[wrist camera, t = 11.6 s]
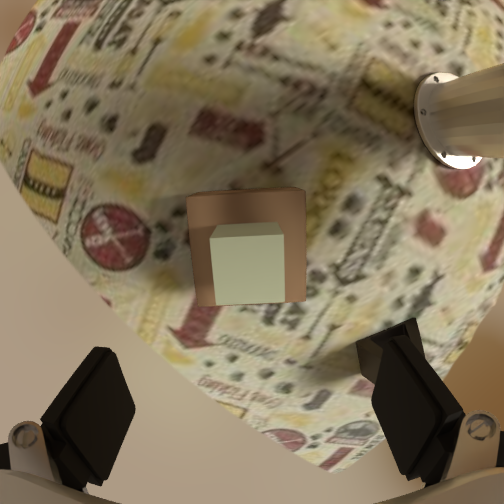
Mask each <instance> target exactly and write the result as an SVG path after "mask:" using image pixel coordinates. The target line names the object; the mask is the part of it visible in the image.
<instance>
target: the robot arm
mask: <svg viewBox="0 0 504 504" xmlns="http://www.w3.org/2000/svg"><path fill="white" fill-rule="evenodd" d="M414 115H415V120H416V124H417V127H418V130H419V133H420V136H421V138H422V140H423V142H424V144H425V145H426V147H427V148H428V150H429V151H430V152H431V154H432V155H433V156H434V157H435V158H436V159H437V160H438V161H440V162H441V163H442V164H444V165H446V166H448V167H450V168H454V169H468V168H471V167H473V166H475V165H476V164H477V163H478V162H479V161H480V160H481V158H482V157H488V158H504V63H503V64H500V65H496V66H493V67H490V68H487V69H483V70H480V71H477V72H474V73H471V74H468V75H465V76H462V77H457V76H455V75H453V74H450V73H446V72H437V73H434V74H431V75H429V76H427V77H426V78H424V79H423V80H422V81H421V82H420V84H419V86H418V88H417V90H416V94H415V99H414ZM371 401H372V407H373V409H374V411H375V414H376V416H377V418H378V420H379V423H380V425H381V427H382V430H383V432H384V435H385V437H386V439H387V441H388V444H389V447H390V449H391V451H392V454H393V456H394V459H395V461H396V463H397V466H398V469H399V471H400V473H401V474H402V475H406V478H407V480H408V481H410V480H412V479H415V478H418V477H421V480H422V482H423V484H422V486H421V489H420V490H418V491H415V492H412V493H409V494H406V495H403V496H400V497H396V498H393V499H390V500H386V501H382V502H379V503H375V504H504V431H500V424H499V421H498V419H497V418H496V417H495V416H494V415H493V414H491V413H489V412H486V411H483V410H477V411H472V412H470V413H468V414H467V415H465V413H464V412H463V409H462V407H461V406H460V405H459V403H458V402H457V400H456V399H455V398H454V396H453V395H452V393H451V392H450V391H449V389H448V388H447V387H446V385H445V384H444V383H443V381H442V380H441V379H440V377H439V376H438V375H437V373H436V372H435V371H434V369H433V368H432V367H431V366H430V364H429V363H428V362H427V360H426V359H425V358H424V357H423V355H422V354H421V353H420V352H419V350H418V349H417V348H416V347H415V345H414V344H413V343H412V342H411V340H410V339H409V338H408V337H407V336H406V335H402V336H396V337H391V338H390V339H389V340H388V342H386V343H385V344H384V348H383V352H382V357H381V362H380V366H379V370H378V375H377V379H376V383H375V387H374V391H373V394H372V399H371ZM134 414H135V404H134V402H133V399H132V396H131V394H130V391H129V389H128V386H127V384H126V381H125V378H124V376H123V373H122V370H121V367H120V364H119V362H118V359H117V356H116V354H115V353H114V352H112V350H111V349H110V348H107V347H94V348H93V349H92V350H91V352H90V353H89V354H88V355H87V357H86V358H85V359H84V361H83V362H82V363H81V365H80V366H79V367H78V368H77V370H76V371H75V372H74V374H73V375H72V376H71V378H70V379H69V380H68V381H67V383H66V384H65V385H64V387H63V388H62V390H61V391H60V392H59V394H58V395H57V396H56V398H55V399H54V400H53V402H52V403H51V405H50V406H49V407H48V409H47V410H46V412H45V413H44V414H43V416H42V417H41V419H40V420H41V421H42V425H41V426H39V425H38V424H37V423H35V422H33V421H24V422H21V423H18V424H17V425H15V426H14V427H13V428H12V430H11V431H10V433H9V437H8V443H4V444H0V504H120V503H116V502H112V501H109V500H106V499H102V498H99V497H96V496H92V495H89V493H88V491H87V488H86V484H87V482H89V483H91V484H95V485H98V486H102V484H103V481H104V480H107V479H108V477H109V475H110V472H111V470H112V467H113V465H114V462H115V460H116V458H117V455H118V453H119V450H120V447H121V445H122V443H123V440H124V438H125V435H126V433H127V431H128V428H129V426H130V423H131V421H132V419H133V417H134Z"/></svg>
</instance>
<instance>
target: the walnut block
mask: <svg viewBox="0 0 504 504" xmlns="http://www.w3.org/2000/svg"><path fill="white" fill-rule="evenodd" d="M186 207H187V218H188V229H189V239H190V248H191V257H192V266H193V274H194V282H195V290H196V298H197V305H198V306H230V305H216V299H215V290H214V280H213V270H212V260H211V249H210V237H211V235H212V233H213V232H214V230H215V229H216V227H217V225H226V224H244V223H263V222H278V224H279V226H280V228H281V230H282V232H283V234H284V269H285V302H279V303H289V302H303V301H306V196H305V191H304V190H302V189H299V188H296V187H281V188H258V189H239V190H223V191H209V192H198V193H195V194H193V195H191V196H188V197H186ZM261 304H272V303H261ZM240 305H253V304H240Z"/></svg>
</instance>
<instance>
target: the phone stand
mask: <svg viewBox="0 0 504 504" xmlns="http://www.w3.org/2000/svg"><path fill="white" fill-rule="evenodd" d="M402 335H406V336H407V337H408V338H409V339H410V340H411V342H412V343H413V344H414V345H415V347H416V348H417V349H418V350H419V352H420V353H421V354H422V355H423V357H424V358H425V354H424V350H423V345H422V341H421V337H420V333H419V329H418V325H417V321H416V318H411V319H409V320H407V321H404V322H402V323H400V324H398V325H395V326H393V327H391V328H388V329H387V330H383V331H381V332H379V333H376V334H374V335H371V336H369V337H366V338H364V339H361V340H358V341H357V342H356V345H357V351H358V356H359V362H360V367H361V373H362V375H363V376H364V377H365V378H367V379H368V380H369V381H371V382H372V383H373V384H375V383H376V379H377V375H378V370H379V366H380V362H381V357H382V352H383V348H384V344H385V343H386V342H388V340H389V339H390V338H391V337H396V336H402Z"/></svg>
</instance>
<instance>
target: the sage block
mask: <svg viewBox="0 0 504 504" xmlns="http://www.w3.org/2000/svg"><path fill="white" fill-rule="evenodd" d="M210 249H211V260H212V270H213V280H214V290H215V299H216V305H240V304H261V303H279V302H285V269H284V234H283V232H282V230H281V228H280V226H279V224H278V222H263V223H244V224H226V225H217V227H216V229H215V230H214V232H213V233H212V235H211V237H210Z"/></svg>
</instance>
